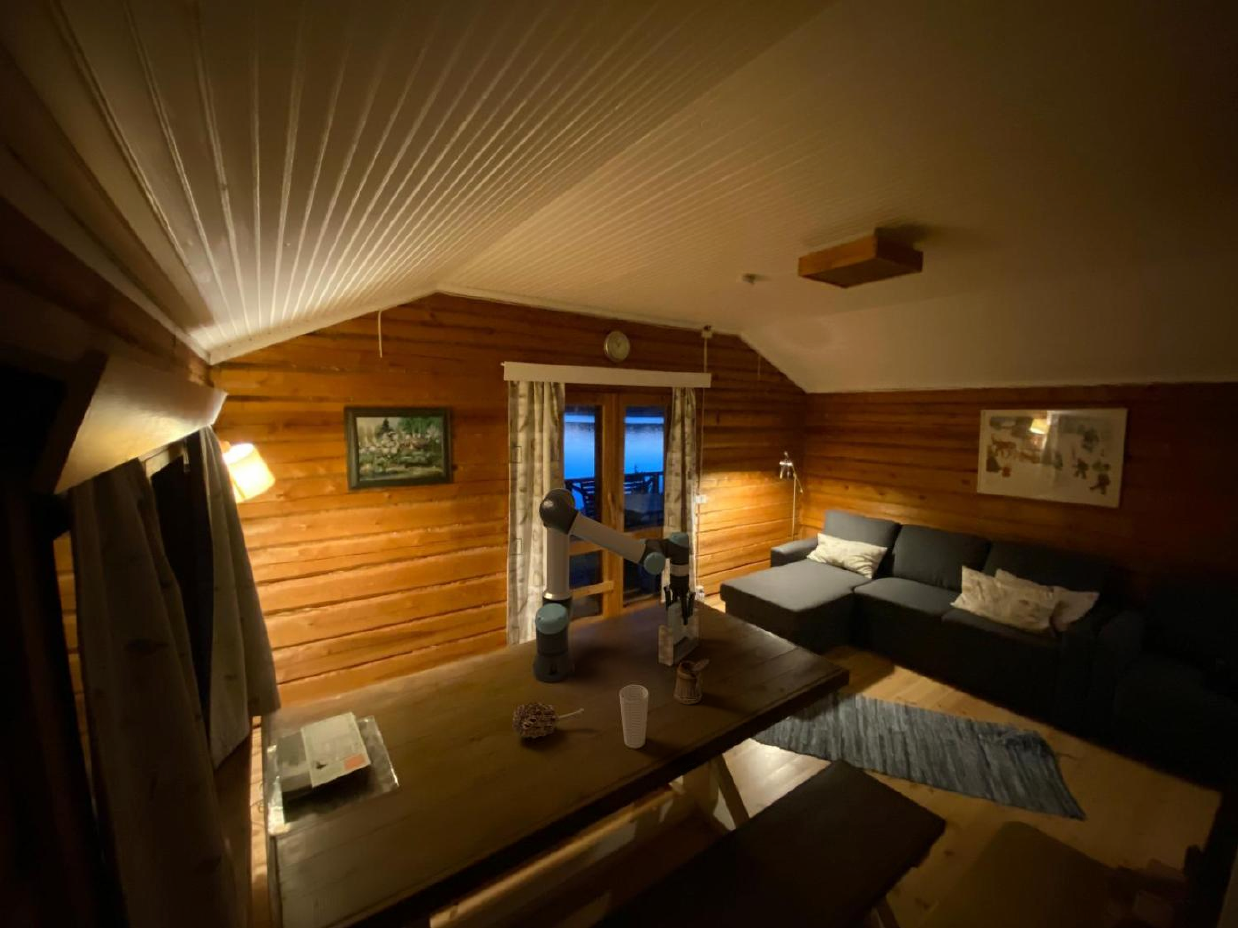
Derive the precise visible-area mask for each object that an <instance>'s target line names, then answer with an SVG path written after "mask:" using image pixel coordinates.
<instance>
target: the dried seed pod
mask: <svg viewBox="0 0 1238 928" xmlns="http://www.w3.org/2000/svg"><path fill="white" fill-rule="evenodd" d="M584 711H585V709H584V708H581V707H580V708H579V710H576V711H574V712H571V713H567V714H563V715H559V716H558V714H556V713H555V709H554V707H553V705H552V704H548V703H547V702H544V703H542V702H540V701H539V702H537V701H534V703H533V702H529V703H527V704H522V705H520V706H518V707H517V709H516V710H515V711H513V717H512V729H513V731H514V732H515V731H516V734H517V735H519V736H522V737H524V738H527V739H528V738H530V737H531V738H532V739H535V738H539V737H545V736H547V735H550V734H553V732H554V729H555V726H556V724H558V723H557V722H560V721H565V720H568V719H571V718H576V717H579V716H584Z"/></svg>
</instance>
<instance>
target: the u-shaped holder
mask: <svg viewBox="0 0 1238 928" xmlns="http://www.w3.org/2000/svg"><path fill="white" fill-rule="evenodd" d="M699 611H700V610H699V608H696V607H693V615H692V616H691V617H690V633H688V634H687V635H686V636H685V637H683V638H682V639H681V640H680V641H679V642H677V643H676V644H673V628H670V627H668V625H667V626H666V625H662V624H661V625H660V626H658V662H659V663H661V664H664V665H666V666H669V667H671V666H672V665H675V666H677V664H678V665H679V664H680V663H681V662H682V660H683V659H685V658H686V657H687V656H688V655H689V654H691V652H692V651H693V650H695V649H696V648H697V647H698V646H699V644H700V641H699V640H700V638H699V614H700V613H699Z"/></svg>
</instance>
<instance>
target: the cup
mask: <svg viewBox="0 0 1238 928" xmlns="http://www.w3.org/2000/svg"><path fill="white" fill-rule="evenodd" d="M649 695H650V692H649V690H648V689H647V688H646V687H645V686H644V685H640V684H635V683H634V684H628V685H626V686H623V687H622V688H621V689H620V691H619V702H620V711H621V722H622V731H623V741H624V744H625V745H626V746H627V747H628V748H630V749H639V748H641V747H643V746H644V745H645V742H646V732H647V722H648V710H649V709H648V708H649V698H650V696H649Z"/></svg>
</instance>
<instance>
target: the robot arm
mask: <svg viewBox="0 0 1238 928" xmlns="http://www.w3.org/2000/svg"><path fill="white" fill-rule="evenodd" d="M576 504H577V502H576V498H575V495H574V494H573V493H572V492H571V491H570V490H569V489H567V488H564V487H557V488H553V489H551V490H549V491H548V492H547V493H546V495H545V497H544V498H543V499H542V500H541V502H540V505H539V507H538V513H539V518H540V519H541V520H542V526H543V527H544V528H545V529H546V584H545V585H546V587H545V589H544V591H543V592H542V595H541V596H542V602H541V607H539V608H538V609H537V611H536V613H535V617H534V625H535V643H536V653H535V657H534V660H533V664H532V676H533V677H534V676H535V677H536V678H537V679H536V678H535V677H534V678H535V679H536V680H538V679H539V680H538V681H540V680H541V682H544V681H547V682H546V683H555V682H561V681H563V680H566V679H568V678H570V676H572V675H573V674H574V671H575V661H574V659H573V657H572V654H571V652H570V647H569V646H570V645H569V628H570V625H571V621H572V617H573V613H574V610H575V604H574V601H573V598H574V597H573V595H574V594H573V593H574V592H573V590H572V589H570V546H571V545H570V539H571V538H570V537H571V535H573V536H576V537H577V538H579V539H582V540H585V541H586V542H589V543H591V544H592V545H594V546H597V547H599V548H601V549H604V550H606V551H608V552H611V553H613V554H615V555H618V556H619V557H622V558H624V559H626V560H628V561H631V562H633V563H635V564H637V565H639V566H641V567H643V568H644V569H645V571H646V572H648V573H649V574H650V575H655V576H656V575H659V574H661V573H662V572H663V571H665V569H666V564H667V563H666V562H667V559H669V584H667V585H664V586H663V587H662V589H663V592H664V599H665V611H666V612H667V613H668V607H669V606H671V605H672V604H674V603H675V602H677V601H678V600H681V606H682V614H683V616H682V617H681V634H683V633H684V632H686V625H687V624H688V617H691V616H692V615H693V608H695V607H694V604H695V597H696V596H697V592H696V591H692V589H691V588H690V552H691V551H690V549H691V548H690V547H691V545H690V544H691V543H690V536H689V534H688V533H686V532H683V531H675V532H671V533H670V534H669V537H668V538H667V537H666V538H647V537H646V538H641V539H635V538H633V537H631V536H629V535H627V534H624V533H622V532H620V531H619V530H616V529H614V528H612V527H609V526H608V525H606V524H604V523H603V524H602V523H600V522H598V521H597V520H595V519H592V518H590V517H588V516H585V515H584V514H582V512H581V510H579V509H577V508H576ZM687 598H689V599H688V606H687Z"/></svg>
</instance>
